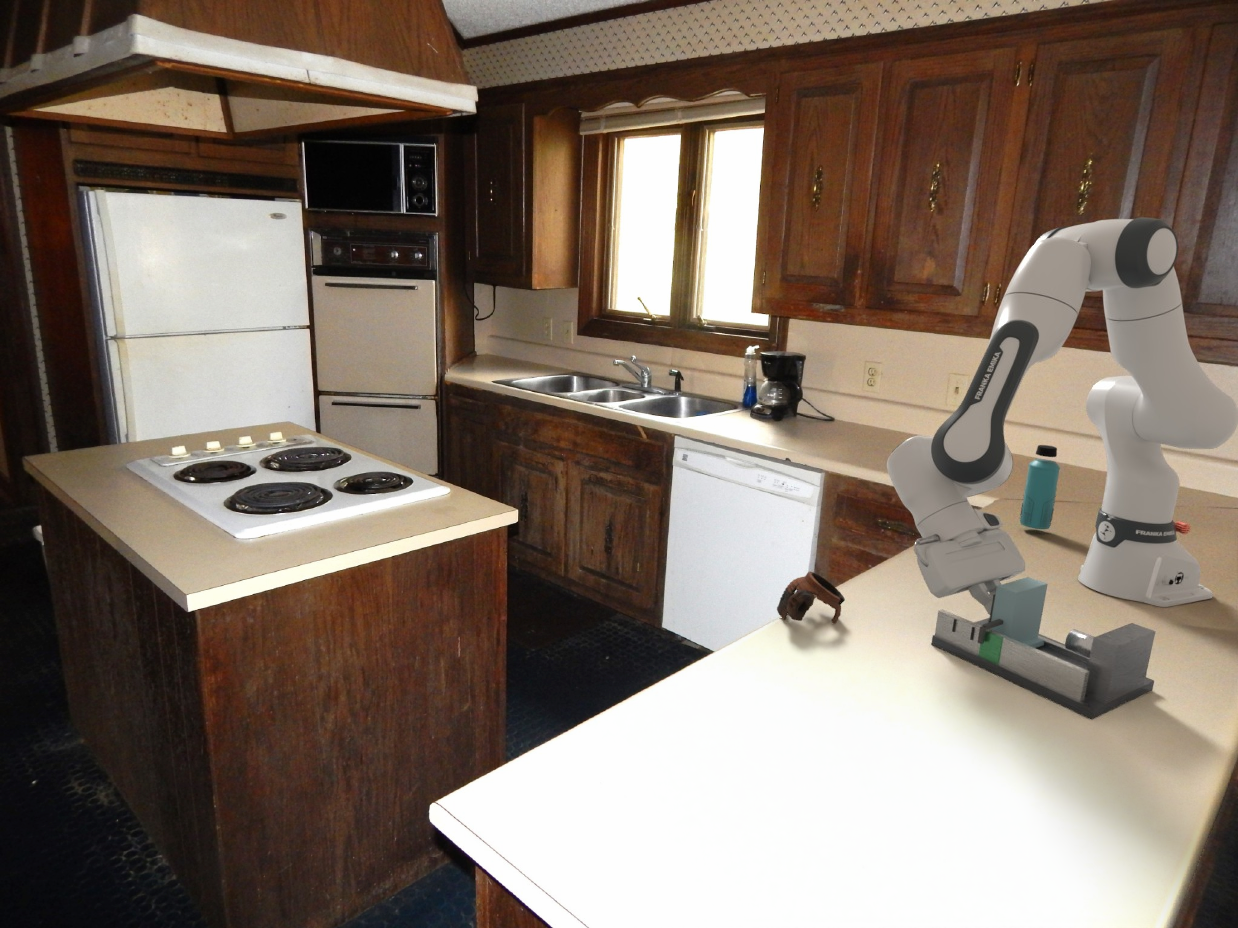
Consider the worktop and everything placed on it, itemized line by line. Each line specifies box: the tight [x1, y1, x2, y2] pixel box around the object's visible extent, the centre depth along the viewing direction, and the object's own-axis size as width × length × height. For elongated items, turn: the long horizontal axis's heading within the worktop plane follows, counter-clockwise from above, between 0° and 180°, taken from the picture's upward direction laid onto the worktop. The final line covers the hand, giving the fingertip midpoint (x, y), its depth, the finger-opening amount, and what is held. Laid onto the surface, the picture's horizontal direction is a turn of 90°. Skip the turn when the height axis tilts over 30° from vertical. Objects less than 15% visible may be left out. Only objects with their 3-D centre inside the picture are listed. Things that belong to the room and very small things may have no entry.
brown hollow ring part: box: [776, 571, 846, 625], centre depth 129 cm, size 12×10×8 cm
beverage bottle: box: [1019, 444, 1061, 530], centre depth 181 cm, size 6×7×20 cm
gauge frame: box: [931, 609, 1156, 721], centre depth 116 cm, size 24×16×10 cm, turn 33°
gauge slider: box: [977, 576, 1048, 648], centre depth 117 cm, size 5×13×9 cm, turn 123°
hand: (999, 611), depth 121 cm, fingers closed, pressing on gauge slider
